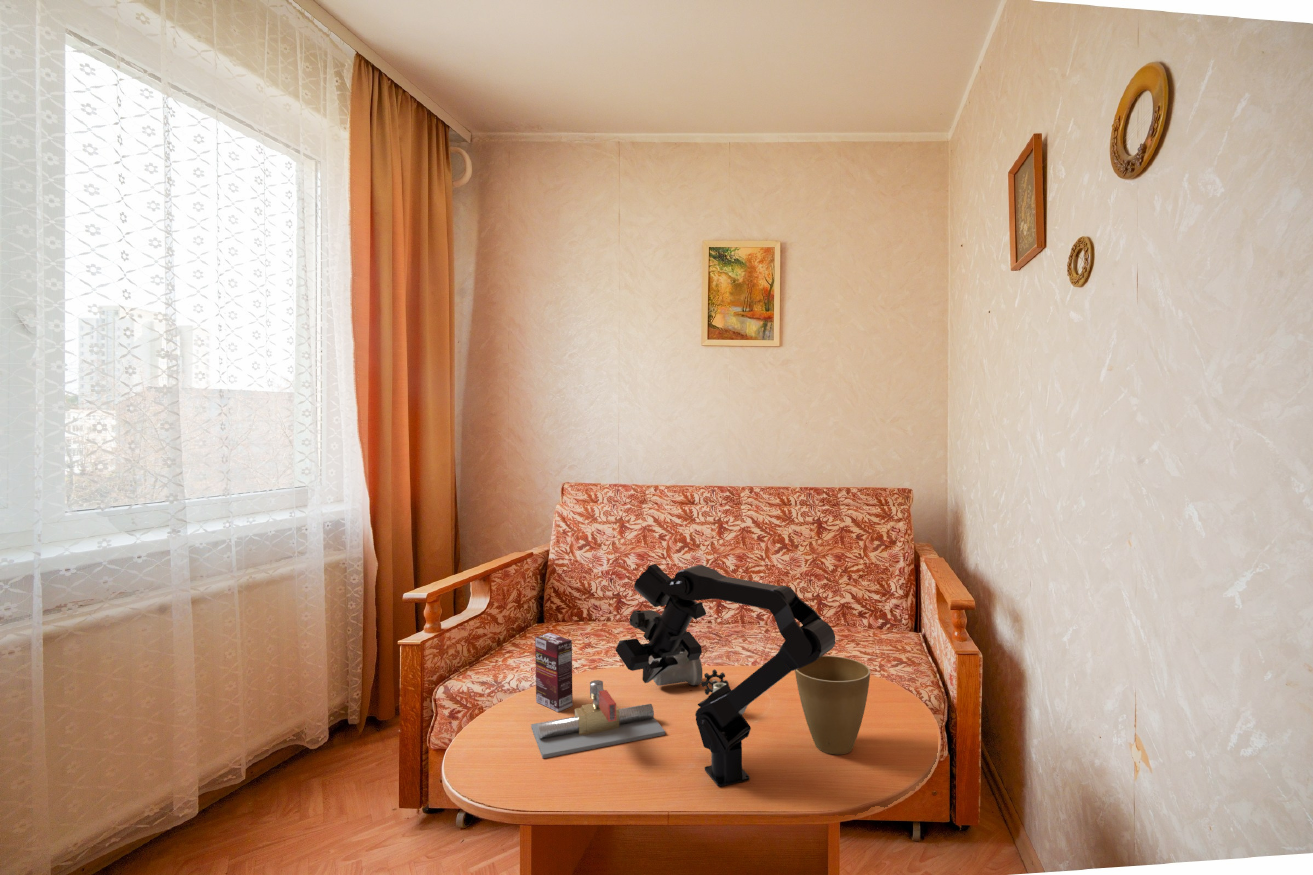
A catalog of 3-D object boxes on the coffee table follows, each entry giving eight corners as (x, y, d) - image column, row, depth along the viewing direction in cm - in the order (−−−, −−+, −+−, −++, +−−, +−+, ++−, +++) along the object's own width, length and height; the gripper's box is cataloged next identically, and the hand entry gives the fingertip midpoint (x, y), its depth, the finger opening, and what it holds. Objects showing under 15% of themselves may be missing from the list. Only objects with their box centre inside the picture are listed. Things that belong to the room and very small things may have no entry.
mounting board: (643, 708, 146) (643, 704, 146) (665, 734, 132) (665, 730, 132) (531, 727, 136) (531, 724, 136) (542, 758, 123) (542, 754, 123)
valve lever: (588, 695, 135) (588, 680, 135) (601, 693, 136) (601, 678, 136) (605, 722, 123) (605, 704, 123) (619, 719, 124) (618, 702, 124)
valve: (737, 717, 140) (728, 695, 152) (736, 688, 140) (727, 668, 152) (708, 719, 140) (701, 696, 152) (707, 689, 140) (700, 669, 152)
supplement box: (534, 702, 149) (533, 636, 149) (550, 696, 153) (550, 631, 153) (557, 713, 144) (556, 644, 144) (573, 706, 147) (572, 638, 147)
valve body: (648, 713, 141) (647, 685, 141) (655, 721, 137) (654, 692, 137) (537, 733, 132) (536, 703, 132) (540, 742, 128) (540, 711, 128)
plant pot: (880, 739, 129) (879, 662, 129) (858, 772, 117) (857, 687, 116) (810, 722, 137) (809, 649, 137) (783, 750, 125) (782, 671, 125)
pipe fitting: (693, 677, 164) (692, 638, 164) (704, 689, 156) (703, 648, 156) (649, 683, 160) (648, 643, 160) (658, 695, 153) (657, 653, 153)
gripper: (685, 592, 135) (658, 648, 140) (616, 597, 123) (589, 658, 128) (716, 627, 127) (686, 685, 132) (645, 637, 115) (615, 700, 120)
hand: (645, 681), depth 128 cm, fingers closed
